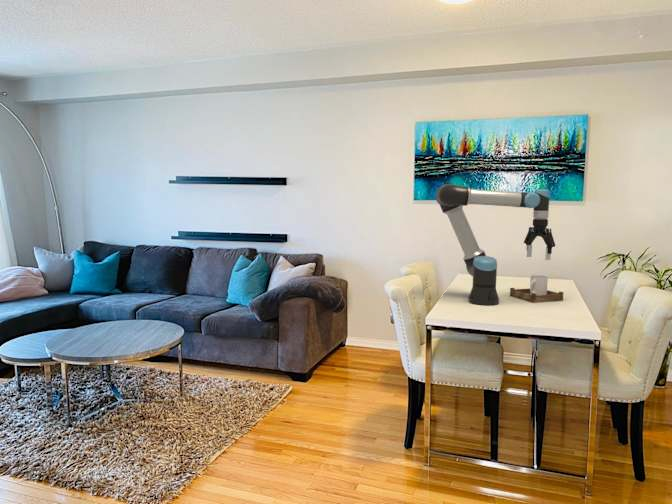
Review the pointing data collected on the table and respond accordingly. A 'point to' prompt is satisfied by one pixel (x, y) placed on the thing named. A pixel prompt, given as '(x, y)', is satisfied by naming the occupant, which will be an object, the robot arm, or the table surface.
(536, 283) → the mug
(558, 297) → the wooden tray
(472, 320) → the table surface
